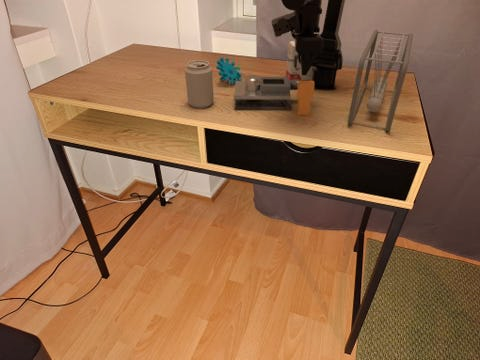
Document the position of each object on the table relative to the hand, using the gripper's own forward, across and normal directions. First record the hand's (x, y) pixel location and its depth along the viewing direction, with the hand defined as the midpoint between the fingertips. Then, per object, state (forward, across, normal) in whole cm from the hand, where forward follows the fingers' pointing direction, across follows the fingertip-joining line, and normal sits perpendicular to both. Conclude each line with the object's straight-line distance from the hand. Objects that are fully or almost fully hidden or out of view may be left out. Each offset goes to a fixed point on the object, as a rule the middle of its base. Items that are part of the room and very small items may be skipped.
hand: (302, 68), depth 92 cm
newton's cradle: (+12, -4, +22) cm, 26 cm away
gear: (+12, -22, -20) cm, 32 cm away
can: (+12, -4, -28) cm, 31 cm away
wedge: (+12, +1, +1) cm, 12 cm away
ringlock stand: (+12, -7, -7) cm, 16 cm away
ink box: (+12, -25, +3) cm, 28 cm away
